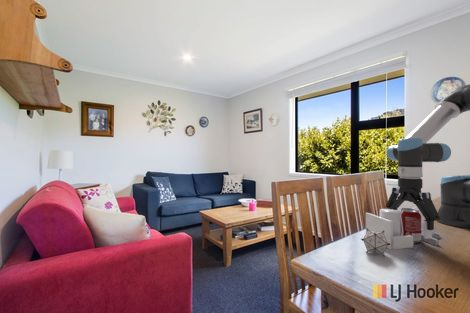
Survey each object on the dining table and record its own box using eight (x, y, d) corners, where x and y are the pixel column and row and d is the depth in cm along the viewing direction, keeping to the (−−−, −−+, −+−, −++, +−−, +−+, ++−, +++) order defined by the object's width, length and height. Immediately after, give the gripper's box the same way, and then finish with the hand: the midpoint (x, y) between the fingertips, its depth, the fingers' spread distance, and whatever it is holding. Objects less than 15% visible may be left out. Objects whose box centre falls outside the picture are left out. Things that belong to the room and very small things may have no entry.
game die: (378, 267, 74) (378, 250, 68) (355, 249, 81) (354, 232, 75) (396, 251, 76) (397, 233, 70) (372, 234, 83) (372, 217, 77)
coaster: (423, 230, 97) (423, 229, 97) (446, 238, 88) (446, 236, 88) (405, 232, 95) (405, 230, 95) (426, 239, 86) (426, 238, 86)
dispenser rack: (408, 233, 93) (408, 205, 93) (438, 245, 81) (438, 212, 81) (365, 237, 90) (365, 207, 90) (390, 249, 78) (390, 216, 78)
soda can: (425, 244, 82) (425, 212, 82) (405, 243, 84) (405, 211, 84) (414, 237, 89) (414, 207, 89) (396, 236, 90) (395, 207, 90)
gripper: (376, 174, 98) (376, 222, 98) (435, 181, 73) (435, 245, 73) (391, 174, 99) (391, 221, 99) (454, 181, 74) (454, 243, 75)
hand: (410, 231), depth 86 cm, fingers open, 13 cm apart
